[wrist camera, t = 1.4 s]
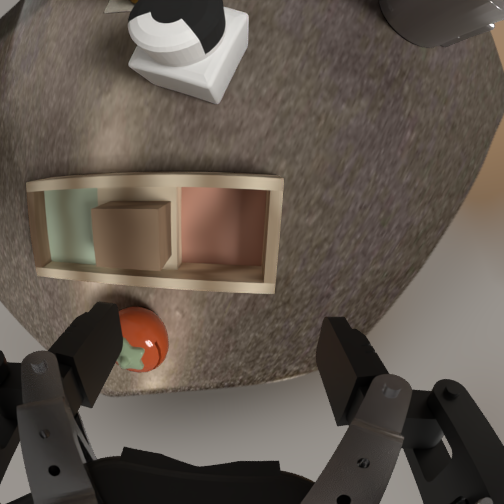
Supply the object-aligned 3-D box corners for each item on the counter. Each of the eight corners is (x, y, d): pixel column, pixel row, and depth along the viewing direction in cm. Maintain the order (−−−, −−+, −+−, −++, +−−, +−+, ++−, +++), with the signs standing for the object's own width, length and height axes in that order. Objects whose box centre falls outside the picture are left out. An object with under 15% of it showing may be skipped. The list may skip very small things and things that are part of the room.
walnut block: (170, 201, 25) (158, 209, 21) (171, 254, 26) (160, 271, 23) (110, 200, 25) (90, 209, 21) (114, 251, 26) (96, 266, 22)
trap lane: (277, 175, 27) (283, 178, 23) (270, 274, 30) (274, 293, 26) (50, 177, 26) (26, 182, 22) (58, 261, 29) (37, 275, 25)
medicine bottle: (183, 25, 22) (150, -37, 10) (249, 44, 23) (251, -20, 11) (152, 84, 24) (96, 47, 12) (218, 106, 25) (199, 69, 13)
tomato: (172, 354, 33) (157, 400, 26) (116, 339, 32) (91, 379, 25) (178, 303, 31) (161, 346, 23) (116, 287, 30) (85, 324, 23)
